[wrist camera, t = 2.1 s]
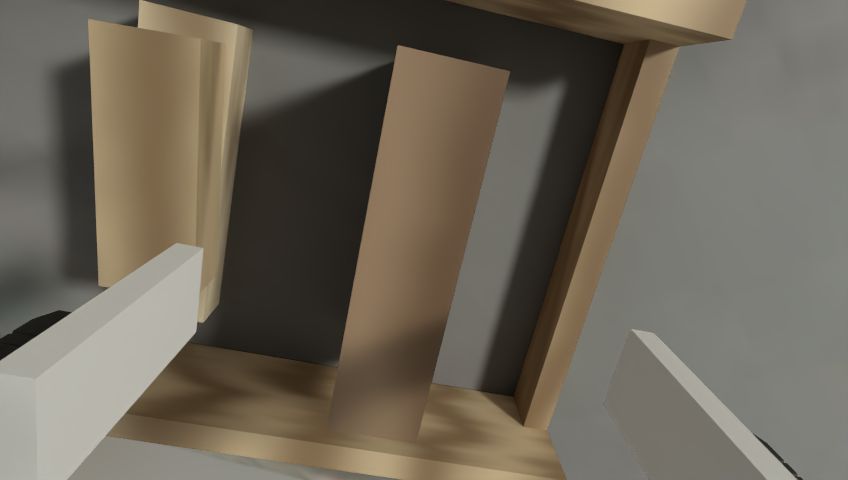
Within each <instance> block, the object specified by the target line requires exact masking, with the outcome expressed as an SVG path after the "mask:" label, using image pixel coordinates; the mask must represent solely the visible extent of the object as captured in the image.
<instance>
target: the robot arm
mask: <svg viewBox="0 0 848 480" xmlns="http://www.w3.org/2000/svg"><path fill="white" fill-rule="evenodd" d="M202 259H203V248H201V247H195V246H190V245H185V244H180V243H176V244H174V245H173V246H171V247H170V248H168V249H167V250H165V251H164V252H162V253H161V254H159V255H158V256H156V257H155V258H153V259H152V260H150V261H149V262H147V263H146V264H144V265H143V266H141V267H140V268H138V269H137V270H135V271H134V272H132V273H131V274H129V275H128V276H126V277H125V278H123V279H122V280H120V281H119V282H117V283H116V284H114V285H113V286H111V287H110V288H108V289H107V290H105V291H104V292H102V293H101V294H99V295H98V296H96V297H95V298H93V299H92V300H90V301H89V302H87V303H86V304H84V305H83V306H81V307H80V308H78V309H77V310H75V311H74V312H66V311H60V310H58V311H55V312H52V313H49V314H46V315H43V316H40V317H37V318H34V319H32V320H30V321H29V322H27V323H25V324H24V325H22V326H20V327H19V328H17V329H16V330H14V331H13V333H12V334H7V335H6V336H4V337H3V338H1V339H0V480H67V479H68V478H69V477H70V476H71V474H72V473H73V472H74V471H75V470H76V469H77V468H78V467H79V465H80V464H81V463H82V462H83V461H84V460H85V458H86V457H87V456H88V455H89V454H90V453H91V452H92V451H93V449H94V448H95V447H96V446H97V445H98V444H99V443H100V441H101V440H102V439H103V438H104V437H105V436H106V435H107V433H108V432H109V431H110V430H111V429H112V428H113V427H114V425H115V424H116V423H117V422H118V421H119V420H120V419H121V417H122V416H123V415H124V414H125V413H126V412H127V411H128V409H129V408H130V407H131V406H132V405H133V404H134V403H135V401H136V400H137V399H138V398H139V397H140V396H141V395H142V393H143V392H144V391H145V390H146V389H147V388H148V387H149V385H150V384H151V383H152V382H153V381H154V380H155V379H156V377H157V376H158V375H159V374H160V373H161V372H162V371H163V369H164V368H165V367H166V366H167V365H168V364H169V363H170V361H171V360H172V359H173V358H174V357H175V356H176V355H177V353H178V352H179V351H180V350H181V349H182V348H183V347H184V345H185V344H186V343H187V342H188V341H189V340H190V339H191V337H192V336H193V335H194V334H195V333H196V329H197V317H198V306H199V294H200V283H201V271H202ZM603 404H604V405H605V407H606V409H607V410H608V412H609V414H610V415H611V417H612V419H613V420H614V422H615V424H616V425H617V427H618V429H619V430H620V432H621V434H622V435H623V437H624V438H625V440H626V442H627V443H628V445H629V447H630V448H631V450H632V452H633V453H634V455H635V457H636V458H637V460H638V462H639V463H640V465H641V467H642V468H643V470H644V472H645V473H646V475H647V477H648V478H649V480H803V479H802V478H801V477H797V473H796V472H795V471H794V470H793V469H792V468H791V467H790V466H789V465H788V464H787V463H784V460H783V459H782V458H781V457H780V456H779V455H778V454H777V453H776V452H775V451H774V450H773V449H772V448H771V447H770V446H769V445H768V444H767V443H766V442H764V441H763V440H761V439H760V438H759V437H757V436H756V435H754V434H753V433H752V432H750V431H749V430H748V429H747V428H746V427H745V426H744V425H743V424H742V423H741V422H740V421H739V420H738V419H737V418H736V416H735V415H734V414H733V413H732V412H731V411H730V410H729V409H728V408H727V407H726V406H725V405H724V404H723V403H722V402H721V401H720V400H719V399H718V398H717V397H716V396H715V395H714V394H713V393H712V392H711V391H710V390H709V389H708V388H707V387H706V386H705V385H704V384H703V383H702V382H701V381H700V380H699V379H698V378H697V377H696V376H695V375H694V374H693V373H692V372H691V371H690V370H689V368H688V367H687V366H686V365H685V364H684V363H683V362H682V361H681V360H680V359H679V358H678V357H677V356H676V355H675V354H674V353H673V352H672V351H671V350H670V349H669V348H668V347H667V346H666V345H665V344H664V343H663V342H662V341H661V340H660V339H659V338H658V337H657V336H656V335H655V334H654V333H650V332H645V331H639V330H634V329H631V330H630V333H629V336H628V338H627V341H626V344H625V346H624V349H623V352H622V354H621V357H620V359H619V362H618V365H617V367H616V370H615V373H614V375H613V378H612V381H611V383H610V386H609V389H608V391H607V394H606V397H605V399H604V402H603Z"/></svg>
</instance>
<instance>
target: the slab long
mask: <svg viewBox="0 0 848 480" xmlns="http://www.w3.org/2000/svg"><path fill="white" fill-rule="evenodd" d="M138 28H142V29H148V30H154V31H160V32H165V33H171V34H177V35H183V36H188V37H194V38H200V39H205V40H210V41H214V42H219V43H224V44H226V46H225V72H224V98H223V123H222V149H221V174H220V200H219V226H218V251H217V275H216V277H215V278H214V279H213V280H212V281H211V282H210V283H209V284H208V285H207V286H206V287H205V288H204V289H203V290H202V291H201V292H200V294H199V306H198V317H197V322H202V323H203V322H204V321H205V320H206V319H207V318H208V316H209V315H210V314H211V313H212V312H213V311H214V309H215V308H216V307H217V306H218V305H219V300H220V291H221V283H222V275H223V267H224V259H225V251H226V243H227V235H228V227H229V219H230V211H231V203H232V195H233V187H234V179H235V171H236V163H237V155H238V147H239V139H240V130H241V122H242V114H243V106H244V98H245V90H246V82H247V74H248V66H249V58H250V50H251V42H252V34H253V30H252V29H249V28H246V27H243V26H241V25H238V24H234V23H230V22H226V21H222V20H218V19H214V18H210V17H206V16H202V15H198V14H194V13H190V12H186V11H183V10H179V9H175V8H171V7H167V6H163V5H159V4H155V3H151V2H147V1H143V0H139V17H138Z"/></svg>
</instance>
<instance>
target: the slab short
mask: <svg viewBox="0 0 848 480" xmlns="http://www.w3.org/2000/svg"><path fill="white" fill-rule="evenodd" d="M88 25H89V51H90V76H91V102H92V127H93V153H94V178H95V204H96V230H97V255H98V281H99V286H102V287H111V286H113V285H114V284H116V283H117V282H119V281H120V280H122V279H123V278H125V277H126V276H128V275H129V274H131V273H132V272H134V271H135V270H137V269H138V268H140V267H141V266H143V265H144V264H146V263H147V262H149V261H150V260H152V259H153V258H155V257H156V256H158V255H159V254H161V253H162V252H164V251H165V250H167V249H168V248H170V247H171V246H173V245H174V244H176V243H180V244H185V245H190V246H195V247H201V248H203V259H202V271H201V283H200V292H201V291H202V290H203V289H204V288H205V287H206V286H207V285H208V284H209V283H210V282H211V281H212V280H213V279H214V278H215V277H216V275H217V251H218V226H219V200H220V174H221V149H222V123H223V98H224V72H225V46H226V44H224V43H219V42H214V41H210V40H205V39H200V38H194V37H188V36H183V35H177V34H171V33H165V32H160V31H154V30H148V29H142V28H137V27H131V26H125V25H119V24H114V23H108V22H102V21H96V20H91V19H88Z"/></svg>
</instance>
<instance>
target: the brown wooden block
mask: <svg viewBox="0 0 848 480" xmlns="http://www.w3.org/2000/svg"><path fill="white" fill-rule="evenodd" d="M509 74H510V71H507V70H503V69H499V68H494V67H490V66H486V65H481V64H477V63H473V62H468V61H464V60H460V59H456V58H451V57H447V56H443V55H438V54H434V53H430V52H425V51H421V50H417V49H412V48H408V47H404V46H400V45H398V46H397V52H396V57H395V62H394V68H393V73H392V79H391V84H390V89H389V95H388V100H387V106H386V111H385V116H384V122H383V127H382V132H381V138H380V143H379V149H378V154H377V159H376V165H375V170H374V176H373V181H372V186H371V192H370V197H369V203H368V208H367V213H366V219H365V224H364V229H363V235H362V240H361V246H360V251H359V256H358V262H357V267H356V273H355V278H354V283H353V289H352V294H351V299H350V305H349V310H348V316H347V321H346V326H345V332H344V337H343V343H342V348H341V353H340V359H339V364H338V370H337V375H336V380H335V386H334V391H333V396H332V402H331V407H330V413H329V418H328V423H327V429H326V430H332V431H338V432H345V433H351V434H358V435H364V436H370V437H377V438H383V439H390V440H396V441H402V442H409V443H415V444H416V442H417V438H418V434H419V430H420V426H421V422H422V418H423V414H424V410H425V406H426V402H427V398H428V394H429V390H430V386H431V383H432V379H433V375H434V371H435V367H436V363H437V359H438V355H439V351H440V347H441V343H442V339H443V335H444V331H445V327H446V323H447V319H448V315H449V311H450V307H451V304H452V300H453V296H454V292H455V288H456V284H457V280H458V276H459V272H460V268H461V264H462V260H463V256H464V252H465V248H466V244H467V240H468V236H469V232H470V228H471V225H472V221H473V217H474V213H475V209H476V205H477V201H478V197H479V193H480V189H481V185H482V181H483V177H484V173H485V169H486V165H487V161H488V157H489V153H490V149H491V146H492V142H493V138H494V134H495V130H496V126H497V122H498V118H499V114H500V110H501V106H502V102H503V98H504V94H505V90H506V86H507V82H508V78H509Z"/></svg>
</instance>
